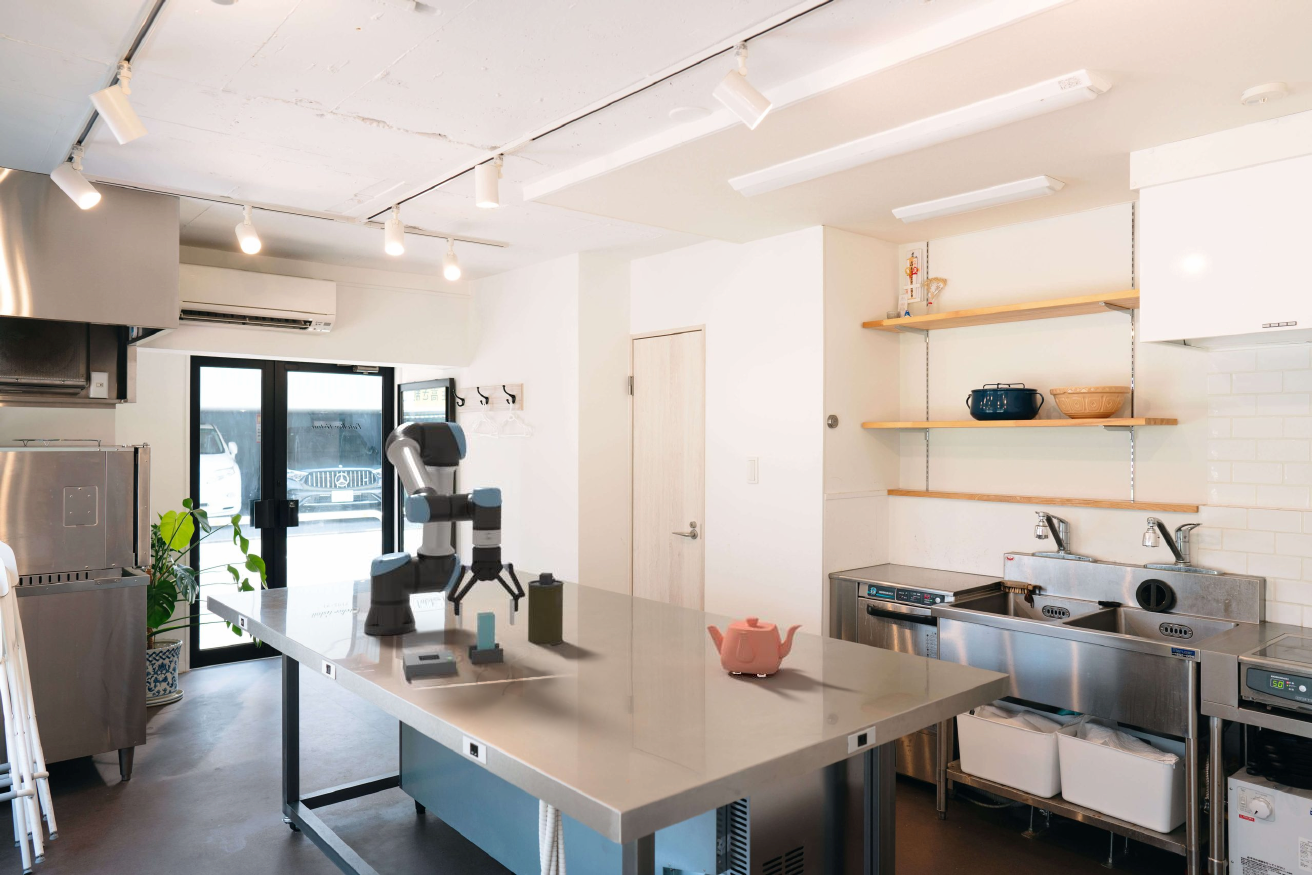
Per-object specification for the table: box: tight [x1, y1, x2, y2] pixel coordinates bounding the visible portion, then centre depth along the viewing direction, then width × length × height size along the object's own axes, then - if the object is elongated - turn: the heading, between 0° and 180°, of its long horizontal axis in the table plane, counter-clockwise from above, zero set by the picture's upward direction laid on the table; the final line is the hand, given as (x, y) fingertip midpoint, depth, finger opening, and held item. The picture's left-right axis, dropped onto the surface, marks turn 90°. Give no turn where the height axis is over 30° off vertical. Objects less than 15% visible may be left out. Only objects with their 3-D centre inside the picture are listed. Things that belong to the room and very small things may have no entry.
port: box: [402, 649, 457, 681], centre depth 212 cm, size 12×12×4 cm
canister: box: [527, 572, 565, 646], centre depth 245 cm, size 11×10×20 cm
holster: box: [467, 642, 504, 665], centre depth 222 cm, size 7×8×4 cm
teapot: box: [706, 616, 803, 675], centre depth 214 cm, size 18×18×14 cm
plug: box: [476, 611, 496, 650], centre depth 222 cm, size 4×4×12 cm
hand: (486, 626), depth 221 cm, fingers open, 13 cm apart
